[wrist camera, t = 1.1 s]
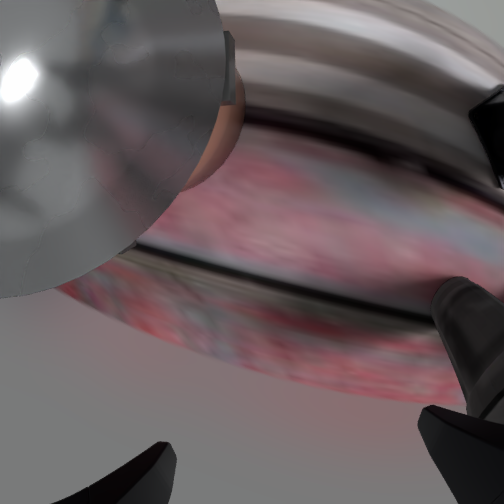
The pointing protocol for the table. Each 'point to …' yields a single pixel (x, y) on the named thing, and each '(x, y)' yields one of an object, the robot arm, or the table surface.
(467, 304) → the beverage cup
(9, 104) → the cooker lid
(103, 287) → the table surface
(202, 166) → the cooker pot
